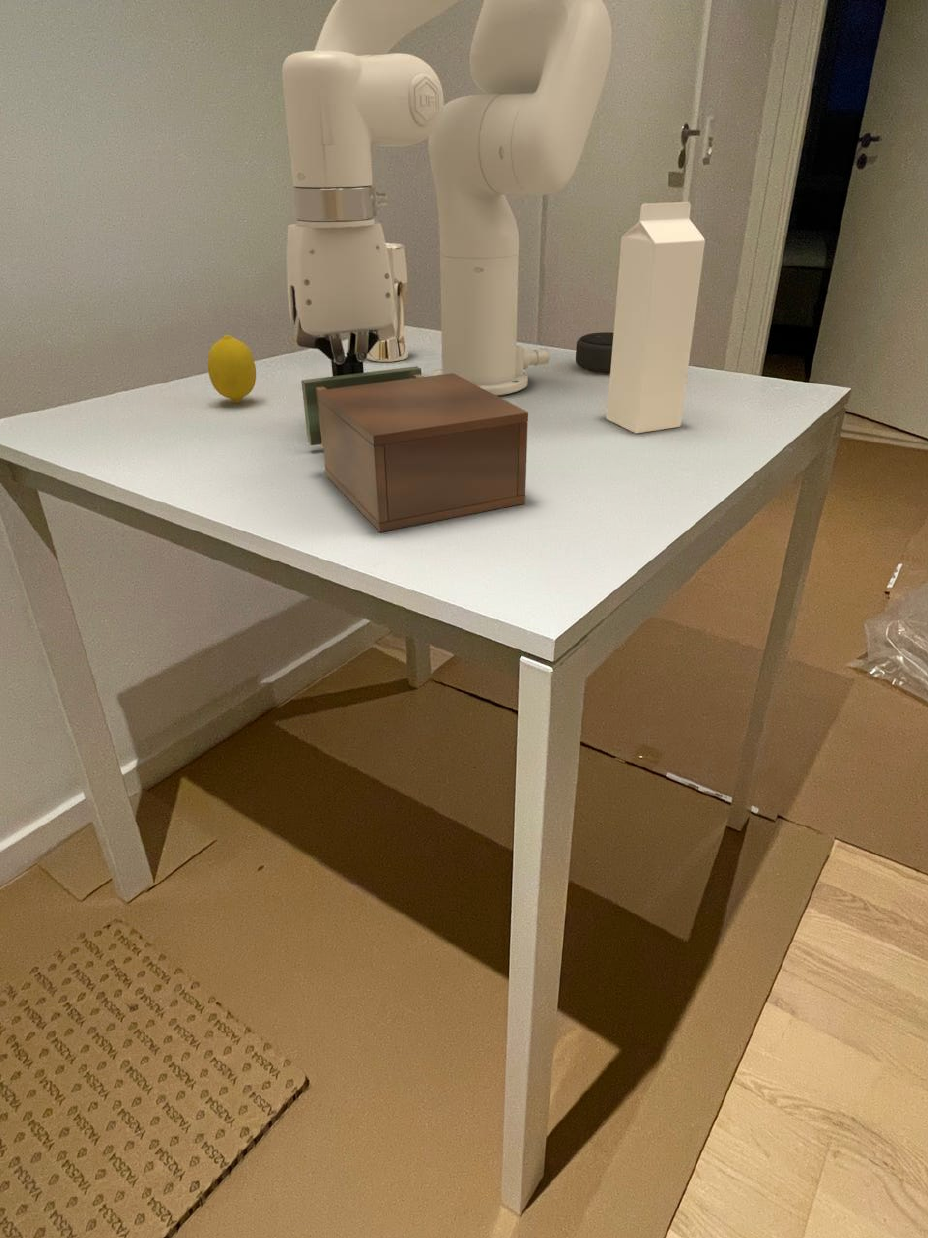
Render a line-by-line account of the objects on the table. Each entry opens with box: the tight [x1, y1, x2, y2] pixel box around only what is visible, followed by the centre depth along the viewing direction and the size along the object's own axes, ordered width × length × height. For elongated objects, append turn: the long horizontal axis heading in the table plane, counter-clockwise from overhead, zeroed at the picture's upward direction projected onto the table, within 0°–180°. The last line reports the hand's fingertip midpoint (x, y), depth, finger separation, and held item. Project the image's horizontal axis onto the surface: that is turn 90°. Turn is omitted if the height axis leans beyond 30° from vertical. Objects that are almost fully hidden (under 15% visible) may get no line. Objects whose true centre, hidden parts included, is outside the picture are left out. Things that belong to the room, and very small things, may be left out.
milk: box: [606, 201, 706, 434], centre depth 85 cm, size 6×6×22 cm
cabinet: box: [318, 373, 529, 533], centre depth 72 cm, size 15×14×8 cm
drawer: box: [300, 365, 425, 447], centre depth 81 cm, size 21×12×6 cm, turn 26°
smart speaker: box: [575, 331, 614, 375], centre depth 112 cm, size 9×9×4 cm
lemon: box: [207, 334, 257, 404], centre depth 97 cm, size 6×6×8 cm
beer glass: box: [366, 242, 409, 363], centre depth 115 cm, size 7×7×15 cm
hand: (350, 398), depth 87 cm, fingers closed
